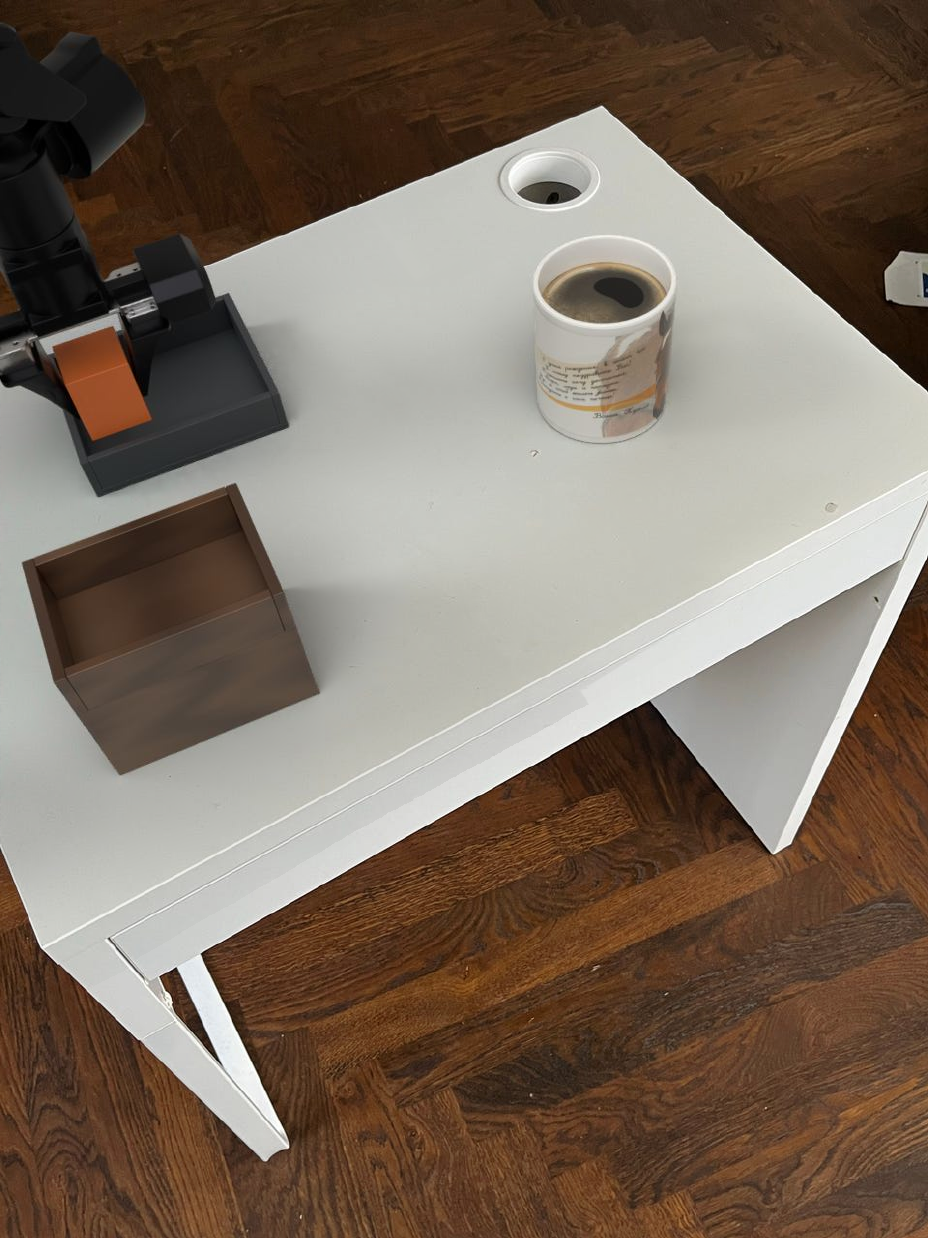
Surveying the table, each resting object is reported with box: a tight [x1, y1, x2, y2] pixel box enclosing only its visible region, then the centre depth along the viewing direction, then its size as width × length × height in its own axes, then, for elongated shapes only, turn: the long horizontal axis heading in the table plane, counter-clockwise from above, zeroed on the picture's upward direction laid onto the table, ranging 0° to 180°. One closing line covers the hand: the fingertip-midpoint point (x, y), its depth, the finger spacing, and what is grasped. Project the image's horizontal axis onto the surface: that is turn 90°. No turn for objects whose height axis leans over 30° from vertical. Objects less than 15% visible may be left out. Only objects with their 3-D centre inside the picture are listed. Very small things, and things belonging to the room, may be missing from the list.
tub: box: [47, 292, 290, 498], centre depth 89 cm, size 15×13×4 cm
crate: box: [21, 482, 320, 776], centre depth 71 cm, size 13×9×11 cm
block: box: [51, 325, 152, 441], centre depth 82 cm, size 4×4×6 cm
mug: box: [531, 234, 678, 444], centre depth 83 cm, size 10×12×11 cm
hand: (112, 403), depth 84 cm, fingers closed on block, 4 cm apart
